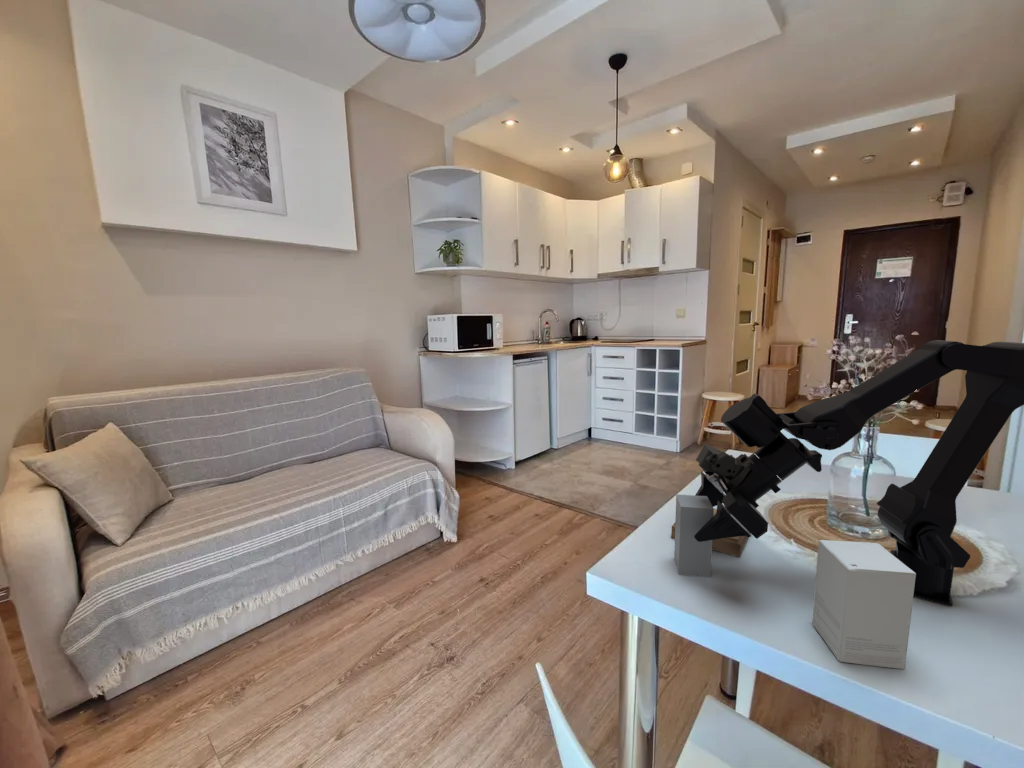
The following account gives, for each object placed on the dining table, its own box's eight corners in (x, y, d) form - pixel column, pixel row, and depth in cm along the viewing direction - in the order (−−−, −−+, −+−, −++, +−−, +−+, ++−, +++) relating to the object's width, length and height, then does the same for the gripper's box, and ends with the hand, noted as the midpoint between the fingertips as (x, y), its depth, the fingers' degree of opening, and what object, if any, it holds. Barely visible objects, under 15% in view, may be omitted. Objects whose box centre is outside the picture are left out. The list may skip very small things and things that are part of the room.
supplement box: (907, 671, 52) (919, 574, 50) (837, 662, 53) (847, 568, 51) (870, 628, 59) (879, 541, 57) (809, 621, 61) (816, 537, 59)
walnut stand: (751, 530, 86) (752, 516, 86) (739, 557, 77) (740, 541, 76) (689, 514, 93) (689, 501, 93) (671, 537, 84) (671, 523, 84)
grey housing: (704, 560, 76) (707, 496, 74) (710, 577, 71) (713, 508, 69) (674, 558, 77) (676, 494, 75) (678, 574, 72) (680, 506, 71)
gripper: (716, 417, 78) (651, 472, 83) (748, 448, 60) (663, 516, 65) (761, 461, 78) (693, 514, 82) (807, 505, 60) (717, 570, 64)
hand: (690, 525), depth 73 cm, fingers open, 9 cm apart
